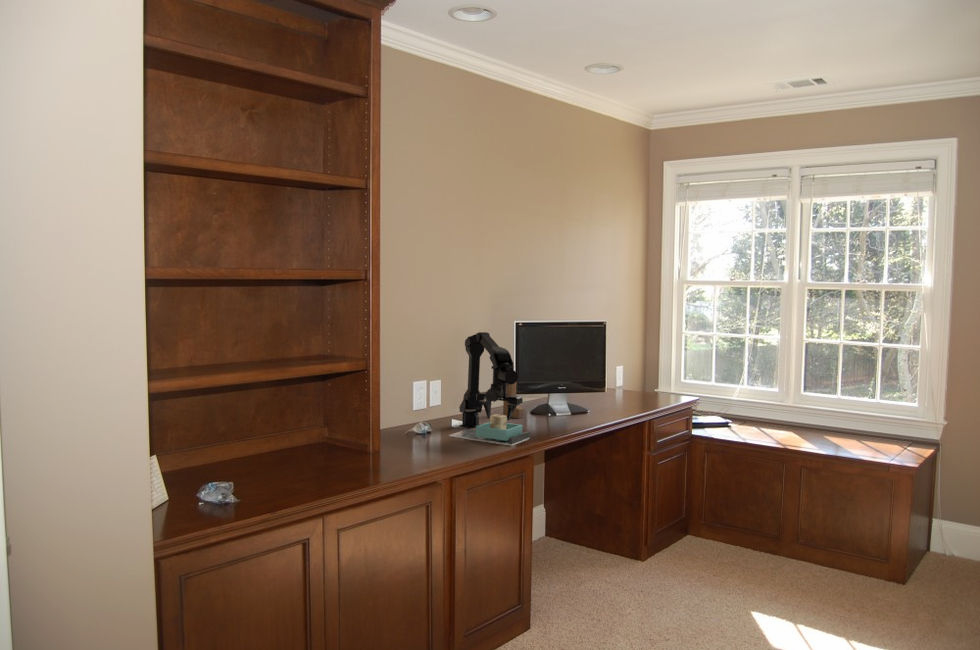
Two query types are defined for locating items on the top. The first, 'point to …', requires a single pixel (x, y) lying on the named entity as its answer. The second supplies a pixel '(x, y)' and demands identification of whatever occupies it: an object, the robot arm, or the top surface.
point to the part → (498, 421)
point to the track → (471, 435)
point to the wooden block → (518, 410)
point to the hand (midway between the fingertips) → (498, 419)
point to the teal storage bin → (498, 431)
